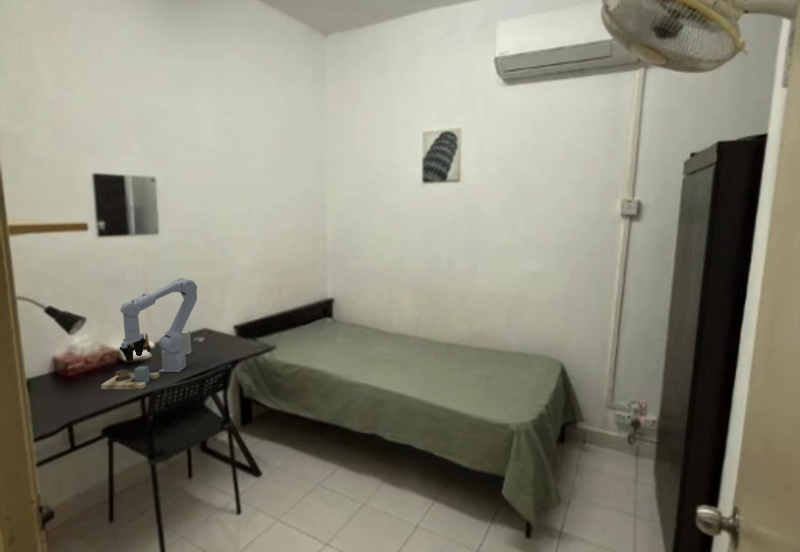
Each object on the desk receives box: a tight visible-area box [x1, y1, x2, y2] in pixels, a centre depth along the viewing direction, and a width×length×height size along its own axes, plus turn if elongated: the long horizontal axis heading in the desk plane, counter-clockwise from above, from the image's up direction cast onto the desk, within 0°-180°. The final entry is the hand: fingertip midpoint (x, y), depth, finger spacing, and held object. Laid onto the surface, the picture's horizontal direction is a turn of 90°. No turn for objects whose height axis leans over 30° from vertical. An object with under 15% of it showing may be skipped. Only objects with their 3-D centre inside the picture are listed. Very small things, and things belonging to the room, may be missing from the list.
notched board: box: [100, 369, 160, 390], centre depth 189 cm, size 17×14×5 cm
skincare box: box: [179, 330, 192, 356], centre depth 226 cm, size 6×4×12 cm
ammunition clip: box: [130, 332, 151, 353], centre depth 220 cm, size 11×2×12 cm, turn 151°
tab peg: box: [133, 365, 151, 384], centre depth 189 cm, size 4×4×7 cm
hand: (134, 358), depth 193 cm, fingers open, 7 cm apart
